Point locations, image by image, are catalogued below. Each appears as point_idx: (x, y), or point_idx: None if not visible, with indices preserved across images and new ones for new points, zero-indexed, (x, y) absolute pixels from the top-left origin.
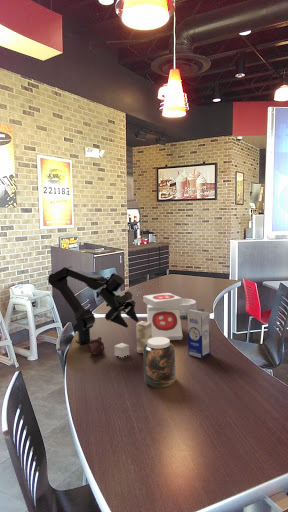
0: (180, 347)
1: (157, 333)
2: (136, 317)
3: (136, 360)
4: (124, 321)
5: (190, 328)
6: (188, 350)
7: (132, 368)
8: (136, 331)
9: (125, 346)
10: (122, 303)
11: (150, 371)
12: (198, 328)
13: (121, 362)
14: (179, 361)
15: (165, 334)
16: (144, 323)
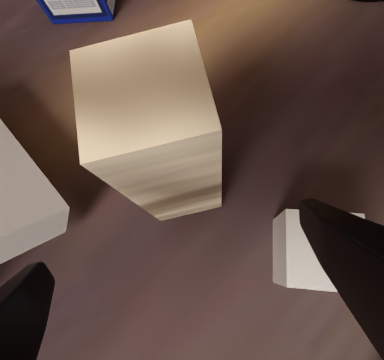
0: (52, 90)
1: (15, 184)
2: (7, 293)
3: (300, 139)
4: (370, 233)
5: None
6: (105, 2)
7: (379, 91)
8: (220, 162)
9: None
10: None
11: None
12: None
13: (375, 180)
14: (187, 8)
15: (1, 146)
16: (145, 72)
